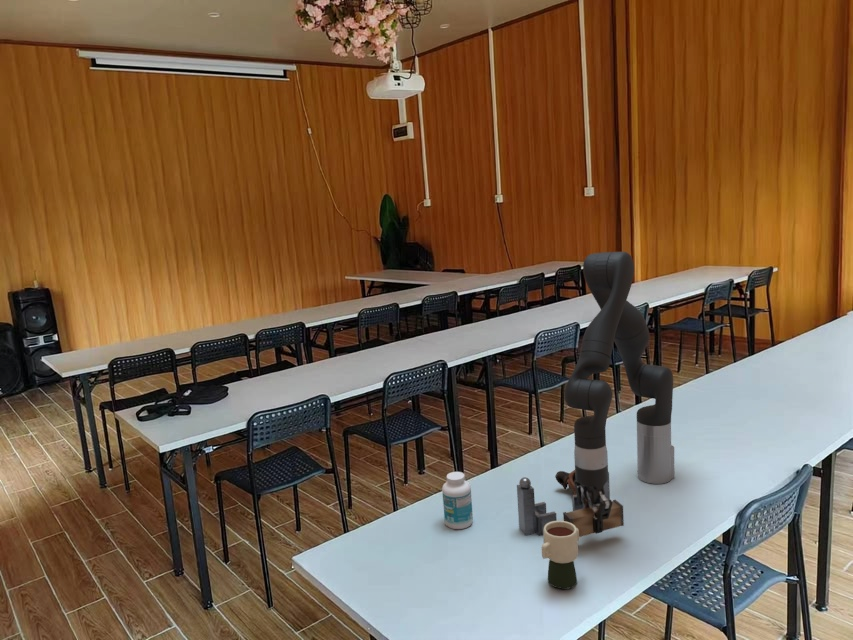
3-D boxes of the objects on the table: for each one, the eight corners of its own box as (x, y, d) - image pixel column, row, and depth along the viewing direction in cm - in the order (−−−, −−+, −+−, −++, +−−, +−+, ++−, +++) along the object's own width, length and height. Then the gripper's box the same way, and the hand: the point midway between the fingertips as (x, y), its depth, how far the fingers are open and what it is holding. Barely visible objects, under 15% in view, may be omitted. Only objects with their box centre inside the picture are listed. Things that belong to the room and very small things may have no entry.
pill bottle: (440, 520, 175) (436, 473, 172) (466, 513, 177) (462, 466, 175) (451, 533, 168) (447, 484, 165) (477, 526, 170) (474, 477, 168)
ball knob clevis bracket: (599, 506, 175) (598, 456, 172) (613, 518, 169) (612, 465, 166) (516, 526, 169) (513, 473, 166) (527, 538, 163) (524, 484, 160)
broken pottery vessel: (598, 487, 187) (603, 470, 182) (591, 514, 181) (595, 498, 175) (557, 474, 191) (560, 456, 185) (548, 500, 184) (551, 483, 179)
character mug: (567, 566, 150) (565, 514, 147) (592, 580, 144) (590, 525, 141) (532, 585, 144) (529, 531, 141) (556, 600, 138) (553, 544, 135)
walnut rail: (615, 519, 161) (615, 499, 160) (623, 525, 158) (623, 505, 156) (564, 532, 157) (563, 512, 156) (571, 539, 154) (570, 519, 153)
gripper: (622, 469, 148) (624, 539, 152) (589, 447, 161) (592, 511, 165) (592, 476, 146) (595, 547, 150) (562, 453, 159) (565, 518, 163)
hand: (593, 528), depth 157 cm, fingers closed on walnut rail, 3 cm apart
